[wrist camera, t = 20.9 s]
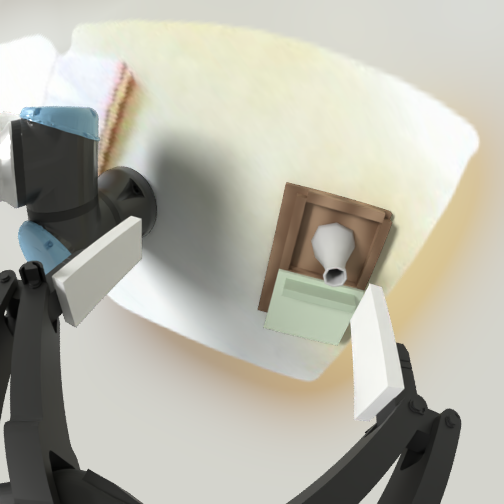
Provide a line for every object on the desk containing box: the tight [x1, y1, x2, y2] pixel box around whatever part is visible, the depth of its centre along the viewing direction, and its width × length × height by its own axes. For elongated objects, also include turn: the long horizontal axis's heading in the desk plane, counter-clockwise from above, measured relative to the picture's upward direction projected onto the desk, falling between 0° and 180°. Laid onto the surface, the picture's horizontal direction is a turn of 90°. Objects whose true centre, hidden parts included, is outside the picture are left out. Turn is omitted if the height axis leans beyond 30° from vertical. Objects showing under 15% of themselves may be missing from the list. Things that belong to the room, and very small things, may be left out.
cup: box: [0, 111, 21, 133], centre depth 39 cm, size 11×11×15 cm
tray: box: [258, 182, 392, 313], centre depth 46 cm, size 17×25×2 cm
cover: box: [263, 269, 364, 346], centre depth 47 cm, size 15×14×4 cm
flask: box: [311, 223, 355, 287], centre depth 39 cm, size 7×7×10 cm
